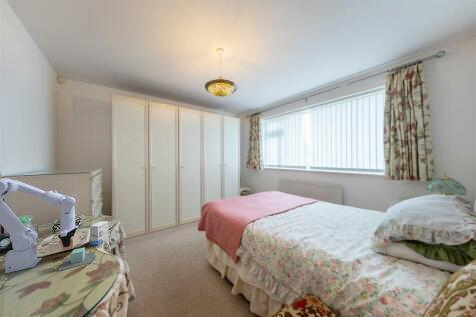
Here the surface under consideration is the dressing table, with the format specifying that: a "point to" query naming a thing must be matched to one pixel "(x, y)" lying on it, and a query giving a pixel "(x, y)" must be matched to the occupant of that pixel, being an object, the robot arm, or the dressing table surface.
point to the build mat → (86, 260)
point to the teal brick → (77, 255)
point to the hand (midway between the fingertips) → (68, 244)
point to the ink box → (98, 232)
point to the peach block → (72, 244)
